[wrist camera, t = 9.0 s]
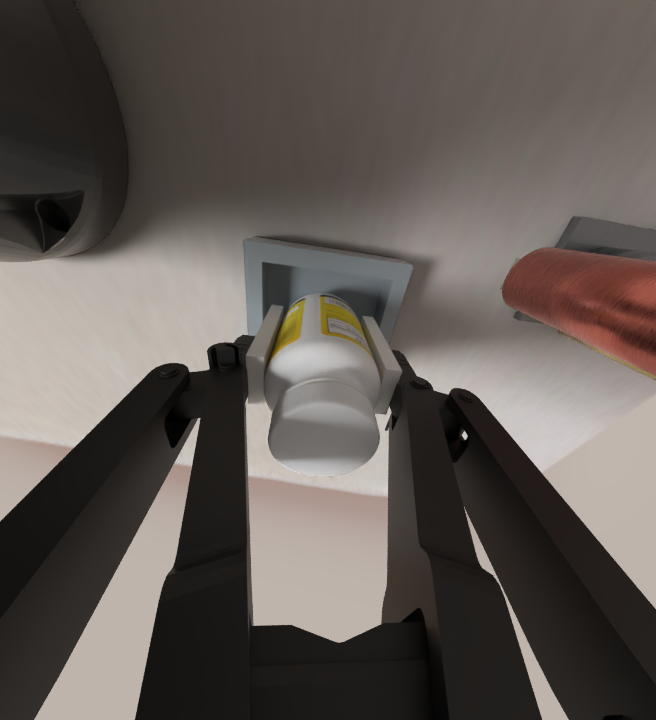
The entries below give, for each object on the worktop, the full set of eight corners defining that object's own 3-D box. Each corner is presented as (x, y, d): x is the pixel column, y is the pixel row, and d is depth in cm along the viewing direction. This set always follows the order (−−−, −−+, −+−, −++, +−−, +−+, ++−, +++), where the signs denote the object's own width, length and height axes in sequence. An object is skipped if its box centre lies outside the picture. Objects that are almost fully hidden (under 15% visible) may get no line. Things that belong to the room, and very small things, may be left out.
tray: (257, 364, 20) (250, 382, 18) (253, 236, 15) (243, 240, 13) (368, 375, 21) (373, 392, 19) (401, 258, 16) (413, 265, 14)
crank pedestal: (507, 327, 19) (583, 372, 14) (573, 216, 15) (721, 217, 10) (580, 336, 20) (681, 382, 14) (662, 233, 16) (848, 243, 10)
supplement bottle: (291, 365, 18) (267, 494, 10) (274, 297, 15) (218, 395, 7) (360, 356, 18) (398, 480, 9) (356, 285, 15) (404, 372, 7)
